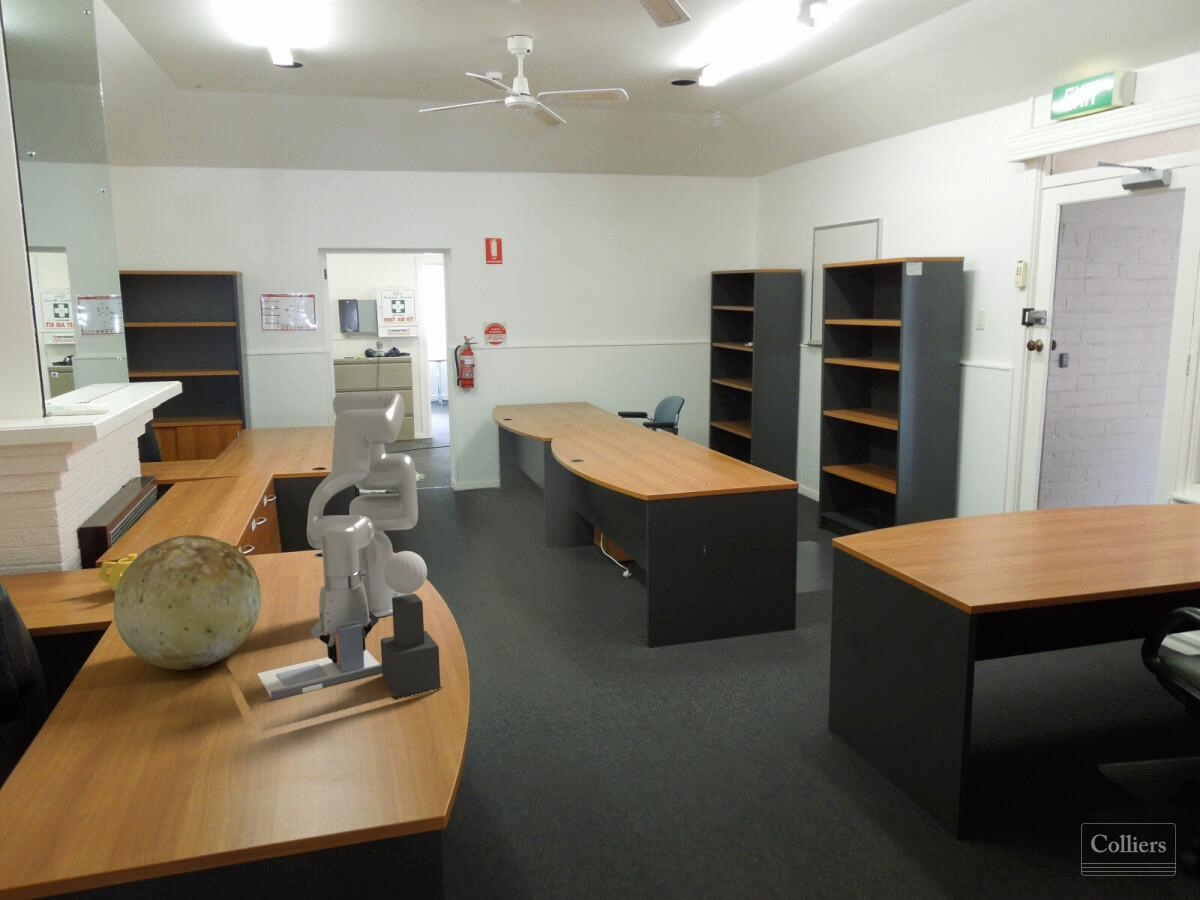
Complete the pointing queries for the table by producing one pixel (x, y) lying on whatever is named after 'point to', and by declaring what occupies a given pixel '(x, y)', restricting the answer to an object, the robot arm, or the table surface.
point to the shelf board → (313, 676)
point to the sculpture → (408, 631)
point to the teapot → (115, 570)
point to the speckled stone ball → (187, 602)
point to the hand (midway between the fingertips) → (347, 656)
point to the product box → (349, 648)
